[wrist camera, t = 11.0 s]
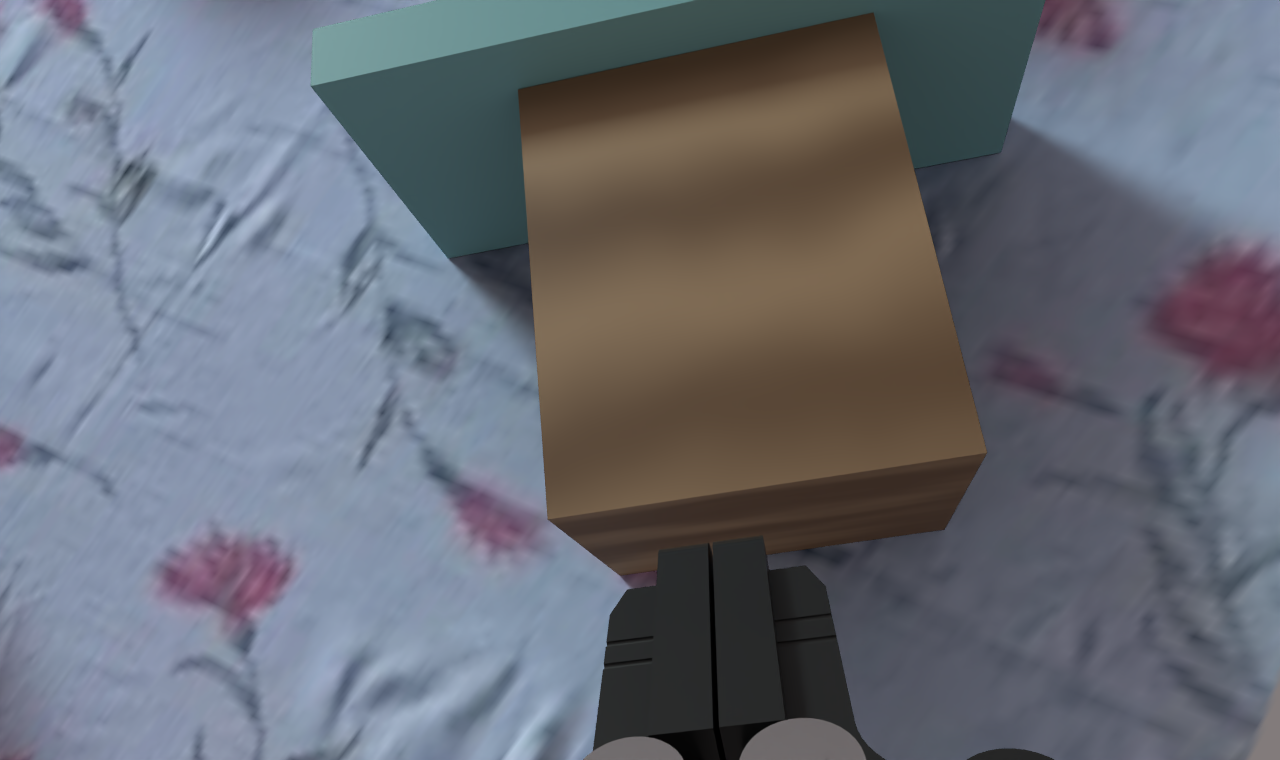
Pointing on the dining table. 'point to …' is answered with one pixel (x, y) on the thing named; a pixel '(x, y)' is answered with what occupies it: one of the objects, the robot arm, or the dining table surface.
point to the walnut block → (740, 303)
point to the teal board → (611, 38)
